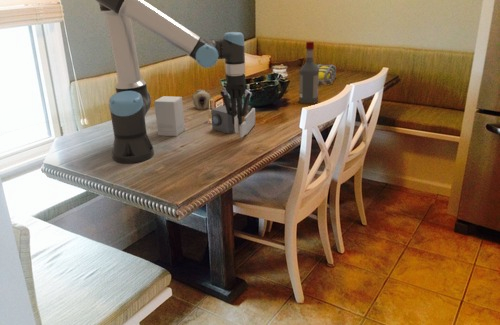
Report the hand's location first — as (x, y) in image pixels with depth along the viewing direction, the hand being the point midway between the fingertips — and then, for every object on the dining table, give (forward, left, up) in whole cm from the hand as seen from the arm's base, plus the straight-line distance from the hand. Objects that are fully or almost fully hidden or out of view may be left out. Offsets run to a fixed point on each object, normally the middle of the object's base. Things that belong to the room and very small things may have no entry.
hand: (237, 131), depth 181 cm
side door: (+8, +2, -3) cm, 8 cm away
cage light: (+109, +33, -3) cm, 114 cm away
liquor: (+64, +11, -3) cm, 65 cm away
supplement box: (-12, +28, -3) cm, 30 cm away
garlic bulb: (+22, +46, -3) cm, 51 cm away
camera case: (+9, +12, -3) cm, 15 cm away
